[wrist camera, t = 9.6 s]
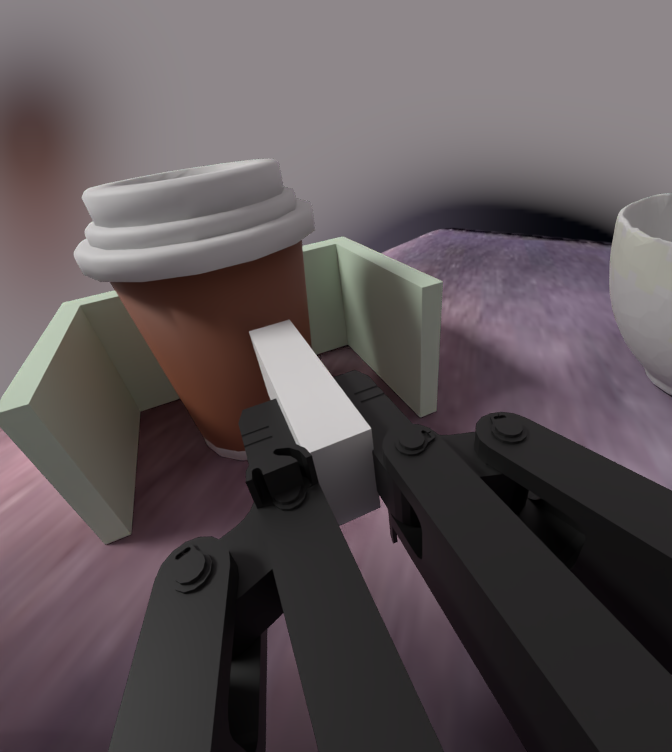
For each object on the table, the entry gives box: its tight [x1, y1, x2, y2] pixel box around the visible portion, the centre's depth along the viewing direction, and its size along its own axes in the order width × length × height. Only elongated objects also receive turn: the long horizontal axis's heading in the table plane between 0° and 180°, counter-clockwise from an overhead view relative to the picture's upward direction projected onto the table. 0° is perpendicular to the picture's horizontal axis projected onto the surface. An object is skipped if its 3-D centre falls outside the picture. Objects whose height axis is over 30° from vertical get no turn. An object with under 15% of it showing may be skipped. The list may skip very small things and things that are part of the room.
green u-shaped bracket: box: [0, 237, 443, 545], centre depth 19 cm, size 16×10×7 cm, turn 113°
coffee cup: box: [74, 159, 315, 461], centre depth 17 cm, size 9×9×12 cm
